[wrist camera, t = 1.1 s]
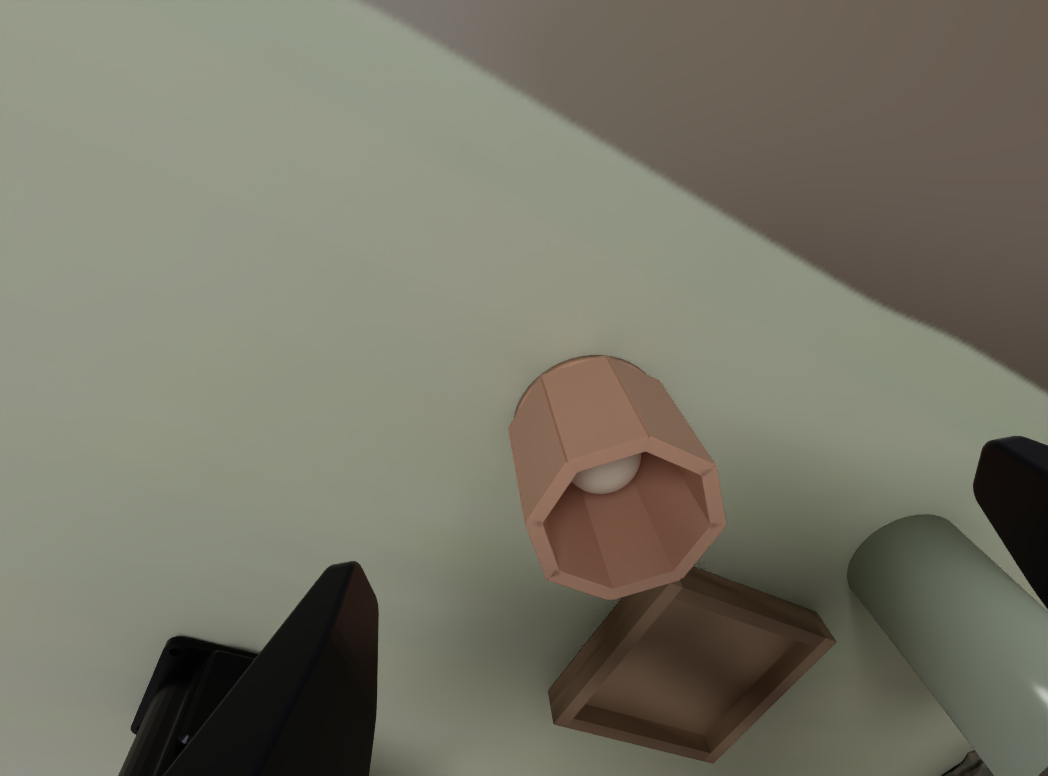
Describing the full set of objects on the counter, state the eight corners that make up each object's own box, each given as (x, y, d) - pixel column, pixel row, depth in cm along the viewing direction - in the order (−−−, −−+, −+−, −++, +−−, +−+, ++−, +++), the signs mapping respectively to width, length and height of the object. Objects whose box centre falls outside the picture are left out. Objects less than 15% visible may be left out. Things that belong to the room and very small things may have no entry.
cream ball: (603, 473, 25) (621, 521, 23) (538, 447, 24) (550, 494, 22) (644, 414, 24) (668, 458, 22) (578, 385, 23) (595, 427, 21)
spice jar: (902, 613, 32) (1102, 857, 23) (824, 583, 31) (1004, 833, 21) (982, 536, 30) (1242, 767, 20) (904, 499, 29) (1147, 731, 19)
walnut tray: (700, 731, 35) (713, 763, 34) (547, 691, 32) (553, 724, 30) (816, 612, 31) (836, 641, 30) (657, 553, 28) (669, 583, 27)
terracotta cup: (611, 504, 27) (652, 614, 21) (486, 455, 25) (497, 563, 20) (692, 392, 25) (760, 484, 19) (562, 329, 23) (598, 412, 17)
